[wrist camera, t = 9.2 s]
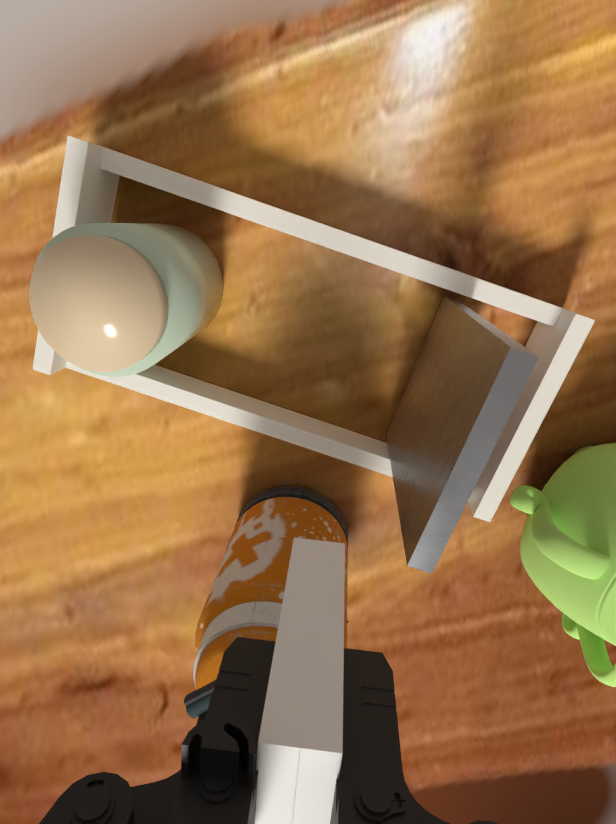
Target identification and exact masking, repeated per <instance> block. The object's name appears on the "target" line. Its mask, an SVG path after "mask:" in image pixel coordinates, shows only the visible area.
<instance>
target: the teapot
mask: <svg viewBox="0 0 616 824" xmlns="http://www.w3.org/2000/svg"><path fill="white" fill-rule="evenodd" d="M510 502H511V505H512V506H514V507H515V508H517V509H518V510H520V511H523V512H525V513H529V515H528V518H527V520H526V522H525V525H524V528H523V532H522V535H521V539H520V554H521V560H522V563H523V565H524V568H525V570H526V571H527V573H528V575H529V576H530V578H531V579H532V581H533V582H534V584H535V585H536V586H537V587H538V589H539V590H540V591H541V592H542V593H543V594H544V595H545V596H546V597H547V599H548V600H550V601H551V602H552V603H553V604H554V605H555V606H556V607H557V608H558V609H559V610H561V611H562V612H563V614H562V626H563V628H564V630H565V631H566V633H568V634H569V635H570V636H571V637H573V638H575V639H580V643H581V647H582V651H583V654H584V658H585V661H586V663H587V666H588V668H589V670H590V671H591V673H592V674H593V676H594V677H595V678H596V679H598V680H599V681H600V682H602V683H604V684H606V685H609V686H613V687H616V664H615V665H614V666H613V667H612V665H611V663H610V660H609V657H608V654H607V650H606V647H605V643H604V640H606V641H608V642H610V643H612V644H613V645H615V646H616V443H609V444H602V445H597V446H585V447H582V448H580V449H578V450H577V451H576V452H575V453H574V454H573V455H572V456H571V457H570V458H569V459H568V460H566V461H565V462H564V463H563V464H562V465H561V466H560V467H559V468H558V469H557V470H556V472H555V473H554V474H553V475H552V477H551V478H550V479H549V481H548V482H547V483H546V485H545V486H544V488H543V489H542V491H540V490H538V489H536V488H534V487H531V486H526V485H522V486H519V487H518V488H516V489H515V490H514V491H513V492H512V494H511V499H510Z"/></svg>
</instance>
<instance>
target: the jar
mask: <svg viewBox="0 0 616 824" xmlns="http://www.w3.org/2000/svg"><path fill="white" fill-rule="evenodd" d="M222 296H223V278H222V273H221V270H220V266H219V264H218V261H217V259H216V257H215V256H214V254H213V252H212V251H211V249H210V248H209V247H208V246H207V244H206V243H205V242H204V241H203V240H202V239H201V238H199V237H198V236H197V235H196V234H194V233H192V232H191V231H189V230H187V229H185V228H183V227H180V226H177V225H173V224H166V223H85V224H79V225H76V226H73V227H70V228H68V229H66V230H64V231H62V232H60V233H59V234H58V235H56V236H55V237H54V238H53V239H51V240H50V241H49V242H48V243H47V245H46V246H45V247H44V249H43V250H42V251H41V253H40V255H39V257H38V259H37V261H36V264H35V266H34V269H33V273H32V276H31V280H30V286H29V302H30V308H31V313H32V316H33V319H34V322H35V324H36V326H37V328H38V330H39V332H40V334H41V335H42V337H43V338H44V340H45V341H46V342H47V344H48V345H49V346H50V347H51V348H52V349H53V350H54V351H55V352H56V353H57V354H58V355H60V356H61V357H62V358H64V359H65V360H67V361H68V362H70V363H72V364H74V365H76V366H77V367H79V368H81V369H83V370H85V371H88V372H90V373H94V374H97V375H101V376H108V377H123V376H130V375H133V374H137V373H140V372H142V371H144V370H146V369H148V368H150V367H151V366H153V365H154V364H156V363H157V362H159V361H160V360H161V359H163V358H164V357H166V356H167V355H168V354H170V353H171V352H173V351H174V350H176V349H177V348H178V347H180V346H181V345H183V344H184V343H185V342H187V341H188V340H190V339H191V338H193V337H194V336H195V335H197V334H198V333H200V332H201V331H202V330H204V329H205V328H206V327H207V326H208V325H209V324H210V323H211V322H212V320H213V319H214V318H215V316H216V314H217V312H218V310H219V308H220V305H221V301H222Z"/></svg>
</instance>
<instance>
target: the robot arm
mask: <svg viewBox="0 0 616 824" xmlns="http://www.w3.org/2000/svg"><path fill="white" fill-rule="evenodd" d="M344 581H345V543H338V542H329V541H320V540H311V539H302V538H294V540H293V545H292V551H291V557H290V562H289V568H288V574H287V580H286V585H285V591H284V597H283V602H282V608H281V614H280V620H279V625H278V631H277V637H276V641H268V640H260V639H252V638H244V637H237V638H236V639H235V640H234V641H233V642H232V644H231V645H230V646H229V647H228V648H227V649H226V650H225V652H224V655H223V658H222V661H221V665H220V668H219V673H218V675H217V679H216V682H215V686H214V689H213V692H212V696H211V699H210V703H209V706H208V710H207V713H206V716H205V720H204V721H203V722H200V723H199V724H197V725H196V726H195V727H194V728H193V729H192V730H190V731H189V732H188V734H187V736H186V738H185V739H184V741H183V743H182V760H181V770H179V771H178V772H177V773H175V774H174V775H172V776H170V777H168V778H167V779H164V780H160V781H157V782H154V783H149V784H144V785H139V786H134V787H130V786H129V784H128V782H127V781H126V780H124V779H123V778H122V777H120V776H119V775H118V774H113V773H107V772H101V773H96V774H91V775H87V776H86V777H84V778H82V779H80V780H78V781H76V782H75V783H73V784H72V785H71V786H70V787H69V788H68V789H67V790H66V791H65V792H64V793H63V794H62V795H61V796H60V797H59V798H58V800H57V801H56V802H55V804H54V805H53V806H52V808H51V809H50V810H49V812H48V813H47V814H46V816H45V817H44V818H43V819H42V821H41V822H40V823H39V824H449V823H447V822H445V821H443V820H441V819H439V818H437V817H435V816H434V815H432V814H431V813H429V812H427V811H426V810H425V809H424V808H423V807H422V806H421V805H420V804H419V803H417V801H416V800H415V799H414V797H413V796H412V795H411V793H410V792H409V790H408V787H407V785H406V783H405V780H404V776H403V771H402V762H401V752H400V742H399V731H398V721H397V711H396V701H395V694H394V681H393V671H392V669H391V667H390V666H389V664H388V662H387V660H386V659H385V657H384V655H383V653H379V652H371V651H363V650H354V649H346V648H344ZM471 824H497V823H495V822H492V821H481V820H479V821H476V822H473V823H471Z"/></svg>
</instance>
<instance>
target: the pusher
mask: <svg viewBox="0 0 616 824" xmlns="http://www.w3.org/2000/svg"><path fill="white" fill-rule="evenodd" d="M538 359H539V357H538V356H537V355H536V354H534V353H533V352H531V351H530V350H528V349H527V348H526V347H524V346H523V345H521V344H520V343H518V342H517V341H516V340H514V339H513V338H511V337H510V336H509V335H507V334H506V333H504V332H503V331H501V330H500V329H499V328H497V327H496V326H494V325H493V324H491V323H490V322H489V321H487V320H486V319H484V318H483V317H482V316H480V315H479V314H477V313H476V312H474V311H473V310H472V309H470V308H469V307H467V306H466V305H464V304H463V303H462V302H460V301H457V300H454V299H451V298H448V297H445V296H444V297H443V300H442V302H441V305H440V307H439V310H438V312H437V314H436V317H435V319H434V322H433V324H432V326H431V329H430V331H429V334H428V336H427V339H426V341H425V343H424V346H423V348H422V351H421V353H420V355H419V358H418V360H417V363H416V365H415V368H414V370H413V372H412V375H411V377H410V380H409V382H408V384H407V387H406V389H405V392H404V394H403V397H402V399H401V401H400V404H399V406H398V409H397V411H396V413H395V416H394V418H393V421H392V423H391V426H390V428H389V430H388V433H387V435H386V439H387V445H388V451H389V457H390V463H391V469H392V475H393V481H394V487H395V493H396V500H397V506H398V512H399V518H400V524H401V530H402V536H403V542H404V548H405V554H406V561H407V566H410V567H413V568H416V569H419V570H422V571H425V572H428V573H431V574H432V572H433V570H434V568H435V566H436V564H437V562H438V560H439V558H440V556H441V554H442V552H443V550H444V548H445V546H446V544H447V542H448V540H449V538H450V536H451V534H452V532H453V530H454V528H455V526H456V524H457V522H458V520H459V518H460V516H461V514H462V512H463V510H464V508H465V506H466V504H467V502H468V500H469V498H470V496H471V494H472V492H473V490H474V488H475V486H476V484H477V482H478V480H479V478H480V476H481V474H482V472H483V470H484V468H485V466H486V464H487V462H488V460H489V458H490V456H491V454H492V452H493V450H494V447H495V445H496V443H497V441H498V439H499V437H500V435H501V433H502V431H503V429H504V427H505V425H506V423H507V421H508V419H509V417H510V415H511V413H512V411H513V409H514V407H515V405H516V403H517V401H518V399H519V397H520V395H521V393H522V391H523V389H524V387H525V385H526V383H527V381H528V379H529V377H530V375H531V373H532V371H533V369H534V367H535V365H536V363H537V361H538Z"/></svg>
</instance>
